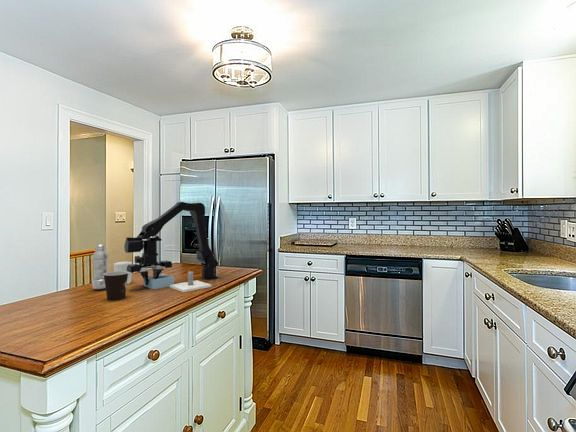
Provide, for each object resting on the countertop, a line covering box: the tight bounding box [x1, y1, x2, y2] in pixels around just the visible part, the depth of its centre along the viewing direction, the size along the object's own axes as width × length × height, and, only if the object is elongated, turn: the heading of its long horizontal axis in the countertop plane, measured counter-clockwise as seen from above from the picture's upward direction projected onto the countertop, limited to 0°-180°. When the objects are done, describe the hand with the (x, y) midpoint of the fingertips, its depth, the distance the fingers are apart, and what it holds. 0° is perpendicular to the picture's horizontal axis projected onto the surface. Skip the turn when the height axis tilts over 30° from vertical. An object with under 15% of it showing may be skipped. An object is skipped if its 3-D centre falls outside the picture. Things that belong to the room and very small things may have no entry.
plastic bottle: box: [91, 243, 110, 291], centre depth 141 cm, size 6×7×20 cm
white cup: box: [113, 261, 133, 285], centre depth 152 cm, size 8×8×10 cm
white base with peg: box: [169, 270, 212, 293], centre depth 145 cm, size 14×13×7 cm
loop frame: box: [143, 273, 175, 290], centre depth 148 cm, size 10×10×4 cm
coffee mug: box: [104, 271, 128, 301], centre depth 128 cm, size 12×9×10 cm
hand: (150, 284), depth 145 cm, fingers open, 3 cm apart
